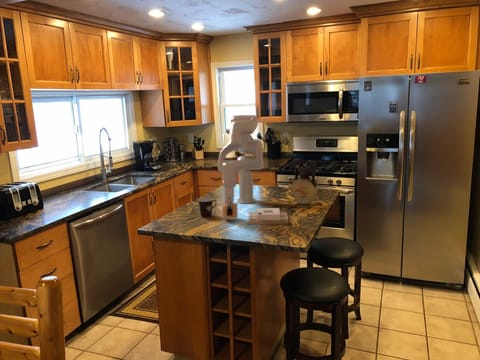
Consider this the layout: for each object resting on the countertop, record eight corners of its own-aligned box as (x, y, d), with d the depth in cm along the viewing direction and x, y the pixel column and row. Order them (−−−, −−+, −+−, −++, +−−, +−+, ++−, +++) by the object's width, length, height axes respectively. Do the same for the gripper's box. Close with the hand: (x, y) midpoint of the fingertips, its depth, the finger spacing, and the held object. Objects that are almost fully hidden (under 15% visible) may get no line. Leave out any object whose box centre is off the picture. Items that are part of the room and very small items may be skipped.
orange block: (224, 218, 230) (223, 203, 228) (237, 217, 230) (237, 203, 228) (223, 221, 224) (222, 206, 222) (237, 221, 223) (236, 206, 221)
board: (249, 215, 233) (249, 212, 233) (286, 215, 232) (286, 212, 231) (249, 224, 217) (248, 220, 217) (288, 223, 216) (288, 220, 216)
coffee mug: (200, 218, 231) (199, 202, 229) (198, 214, 239) (197, 198, 237) (219, 216, 234) (218, 200, 232) (216, 212, 242) (215, 197, 240)
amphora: (322, 204, 255) (322, 158, 249) (311, 210, 241) (311, 162, 235) (297, 200, 264) (297, 157, 258) (286, 206, 251) (285, 160, 245)
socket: (257, 213, 231) (257, 207, 230) (279, 213, 230) (279, 207, 230) (256, 219, 218) (256, 213, 217) (280, 219, 218) (280, 213, 217)
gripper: (224, 180, 231) (225, 209, 235) (221, 187, 214) (222, 217, 218) (236, 180, 231) (237, 209, 234) (234, 187, 214) (235, 217, 217)
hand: (230, 213), depth 226 cm, fingers open, 7 cm apart
